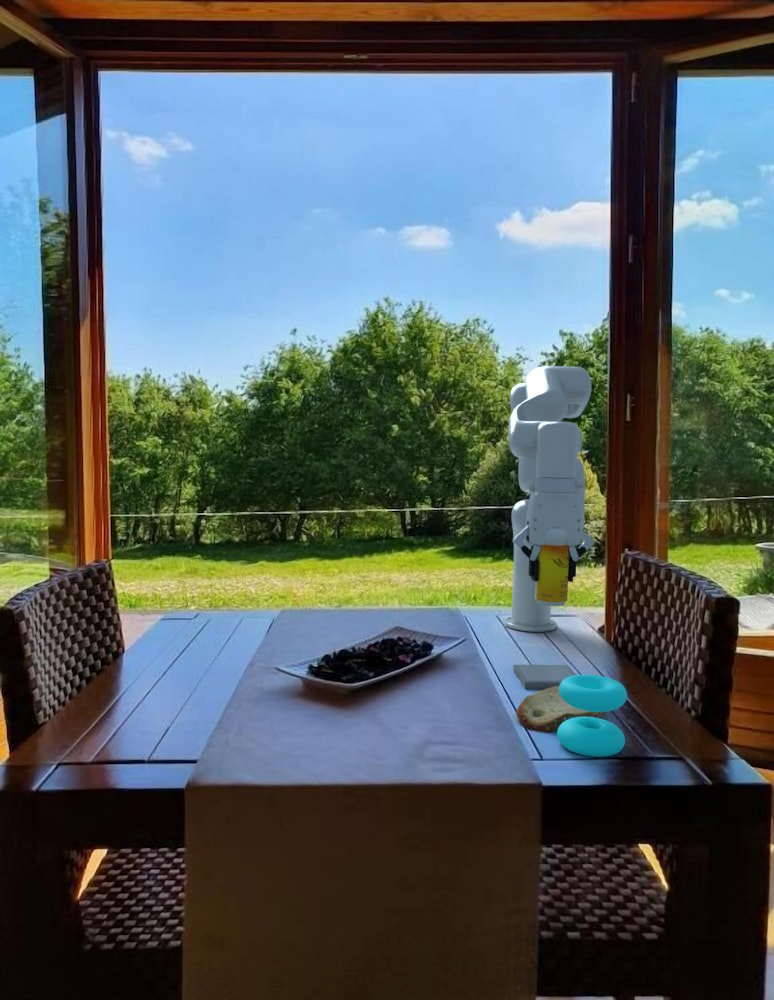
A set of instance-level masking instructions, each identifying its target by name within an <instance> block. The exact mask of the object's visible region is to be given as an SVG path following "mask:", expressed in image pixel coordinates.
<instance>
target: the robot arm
mask: <svg viewBox="0 0 774 1000" xmlns="http://www.w3.org/2000/svg"><path fill="white" fill-rule="evenodd" d="M591 392H592V380H591V375H590V373H589V372H588V370H586V369H585V368H584V367H581V366H572V365H571V366H570V365H569V366H568V365H567V366H566V365H565V366H564V365H563V366H561V365H560V366H559V365H558V366H557V365H555V366H554V365H547V366H546V365H545V366H538V367H536V368H534V369H532V370H531V371H529V373H528V374H527V376H526V379H525V382H522V383H519V384H518V383H517V384H516V385H515V386H513V387H512V388H511V390H510V396H509V405H510V411H511V414H510V417H509V420H508V444H509V445H508V446H509V450H510V453H512V455H513V456H514V457H517V458H518V484H519V487H520V489H521V491H523V492H524V493H528V494H530V495H529V499H522V500H519V501H517V502H516V503H514V505H513V507H512V510H511V517H510V518H511V524H512V525H511V527H512V534H513V535H512V537H513V538H512V543H513V567H512V593H511V594H512V595H511V596H512V597H511V598H512V599H511V601H512V602H511V616H509V617H507V618H505V622H504V624H505V626H507V627H508V628H510V629H514V630H516V631H523V632H530V633H531V632H535V633H536V632H539V633H540V632H541V633H542V632H550V631H553V630H556V629H557V625H558V623H557V621H555V620H554V619H552V618H551V616H552V614H551V613H552V606H546V605H541V604H539V603H538V601H537V600H536V599H535V586H536V581H538V573H539V561H537V556H538V553H539V551H540V548H541V546H543V545H544V541H545V535H546V533H547V531H548V530H550V529H551V527H558V528H561V527H563V528H564V530H565V531H566V532H567V533H568V546H569V571H568V583H573V582H574V578H576V575H577V562H578V561H579V559H580V558H581V557H582V556H583V555H584V554H586V552H587V551H588V550H589V549H590V548H591V547H592V546H593V545H594V544H595V541H594V539H593V538H592V537H591V536H590V535H589V534H588V533H587V532H586V531H585V530H584V528H585V513H586V511H585V504H586V501H585V497H586V496H585V495H586V494H585V493H586V490H585V489H586V487H585V486H586V485H585V484H586V483H585V482H586V478H585V477H586V476H585V473H586V472H585V467H584V464H583V462H582V460H581V459H579V458H578V454H579V452H581V450H582V445H583V432H582V430H580V428H579V426H578V425H577V424H576V423H574V422H571V421H562V420H563V419H576V418H578V417H580V416H581V415H582V413H584V410H585V408H586V406H587V405H588V402H589V400H590V398H591V394H592V393H591ZM576 547H577V548H576Z"/></svg>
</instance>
